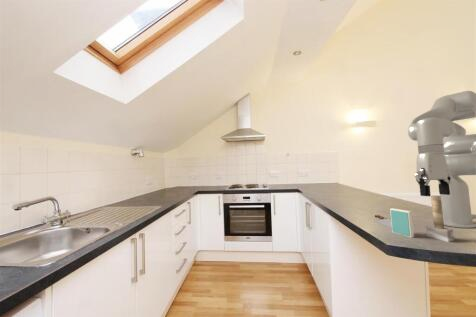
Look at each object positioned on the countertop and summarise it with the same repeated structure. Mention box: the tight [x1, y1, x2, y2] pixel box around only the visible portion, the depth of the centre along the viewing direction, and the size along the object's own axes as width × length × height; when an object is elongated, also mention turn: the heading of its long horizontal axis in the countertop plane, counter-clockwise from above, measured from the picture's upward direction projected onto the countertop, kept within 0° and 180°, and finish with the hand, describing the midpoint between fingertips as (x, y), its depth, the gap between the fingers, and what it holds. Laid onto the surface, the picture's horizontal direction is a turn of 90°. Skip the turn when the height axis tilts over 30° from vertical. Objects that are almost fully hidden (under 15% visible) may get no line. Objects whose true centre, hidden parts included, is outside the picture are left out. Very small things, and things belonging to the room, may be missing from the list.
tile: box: [389, 207, 415, 239], centre depth 90 cm, size 2×8×10 cm, turn 15°
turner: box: [425, 194, 455, 243], centre depth 84 cm, size 3×7×16 cm, turn 15°
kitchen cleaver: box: [374, 214, 392, 228], centre depth 112 cm, size 24×1×10 cm
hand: (435, 195), depth 84 cm, fingers open, 9 cm apart
